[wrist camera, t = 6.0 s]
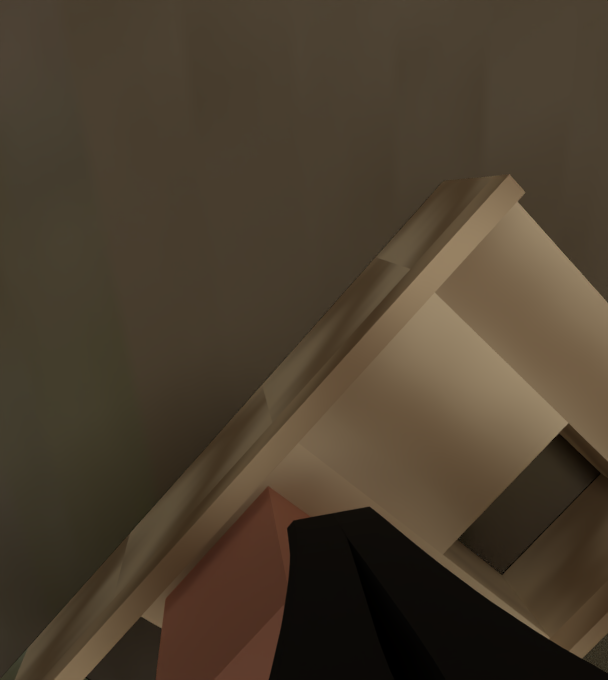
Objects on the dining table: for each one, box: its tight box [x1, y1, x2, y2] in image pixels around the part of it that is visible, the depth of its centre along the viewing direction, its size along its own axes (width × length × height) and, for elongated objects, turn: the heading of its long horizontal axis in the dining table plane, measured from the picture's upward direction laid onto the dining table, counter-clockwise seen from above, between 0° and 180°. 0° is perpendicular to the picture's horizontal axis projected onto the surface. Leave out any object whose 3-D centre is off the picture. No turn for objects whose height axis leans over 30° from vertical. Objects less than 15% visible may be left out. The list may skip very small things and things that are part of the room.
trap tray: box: [0, 174, 608, 680], centre depth 16 cm, size 24×12×5 cm, turn 138°
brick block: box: [156, 486, 310, 680], centre depth 13 cm, size 4×4×4 cm
